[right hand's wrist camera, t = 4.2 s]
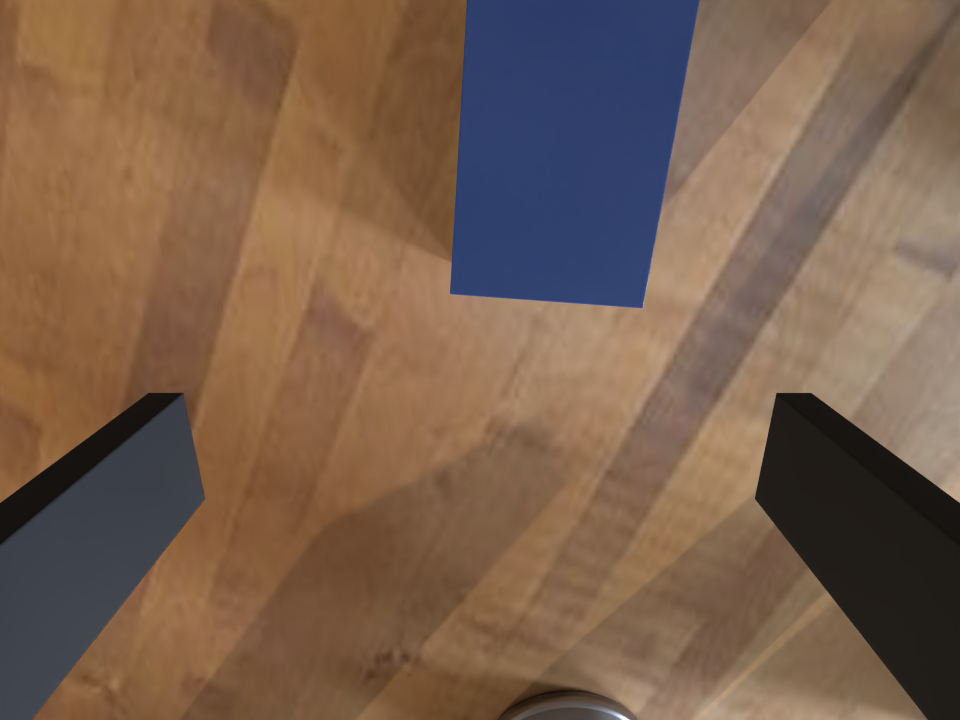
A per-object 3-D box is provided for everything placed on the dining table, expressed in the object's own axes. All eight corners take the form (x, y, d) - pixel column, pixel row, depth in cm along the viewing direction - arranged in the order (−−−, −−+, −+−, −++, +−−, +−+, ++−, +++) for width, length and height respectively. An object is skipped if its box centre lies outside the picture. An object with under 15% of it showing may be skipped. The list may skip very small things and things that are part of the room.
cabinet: (474, -39, 31) (472, -100, 24) (657, -22, 31) (714, -77, 24) (455, 265, 37) (449, 294, 30) (610, 276, 37) (643, 308, 30)
